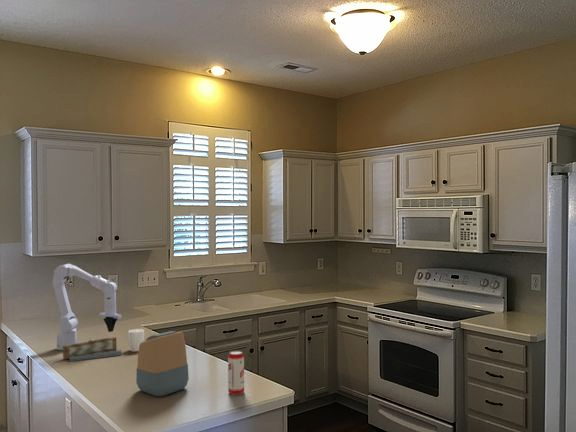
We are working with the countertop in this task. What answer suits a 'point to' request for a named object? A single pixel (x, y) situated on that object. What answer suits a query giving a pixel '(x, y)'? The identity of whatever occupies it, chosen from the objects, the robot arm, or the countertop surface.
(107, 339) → the picture frame
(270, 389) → the countertop surface
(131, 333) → the white cup
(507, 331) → the countertop surface
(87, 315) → the countertop surface
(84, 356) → the slanted bar
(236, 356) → the beer can
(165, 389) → the two-tone smart speaker
